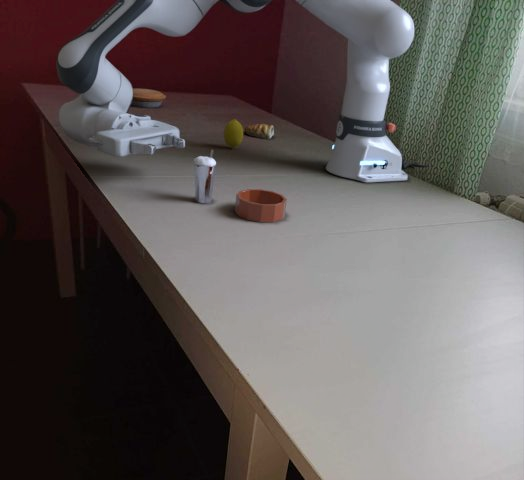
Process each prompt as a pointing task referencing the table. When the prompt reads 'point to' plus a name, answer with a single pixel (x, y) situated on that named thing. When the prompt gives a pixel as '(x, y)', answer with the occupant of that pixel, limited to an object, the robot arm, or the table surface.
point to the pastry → (260, 130)
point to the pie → (147, 98)
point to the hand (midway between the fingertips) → (168, 147)
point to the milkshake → (204, 178)
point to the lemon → (233, 133)
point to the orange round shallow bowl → (260, 205)
